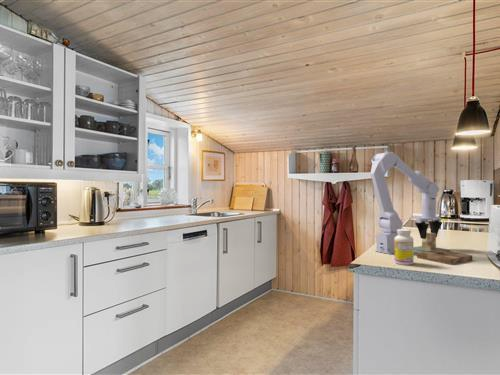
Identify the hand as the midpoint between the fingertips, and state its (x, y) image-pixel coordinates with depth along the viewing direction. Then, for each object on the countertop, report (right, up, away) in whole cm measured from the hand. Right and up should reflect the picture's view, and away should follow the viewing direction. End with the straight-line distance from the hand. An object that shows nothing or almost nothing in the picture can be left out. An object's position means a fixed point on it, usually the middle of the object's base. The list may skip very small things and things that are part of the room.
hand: (428, 237), depth 159 cm
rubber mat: (0, -6, 0) cm, 6 cm away
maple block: (0, -5, 0) cm, 5 cm away
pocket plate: (-3, -6, -19) cm, 20 cm away
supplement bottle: (-22, -6, -26) cm, 35 cm away
